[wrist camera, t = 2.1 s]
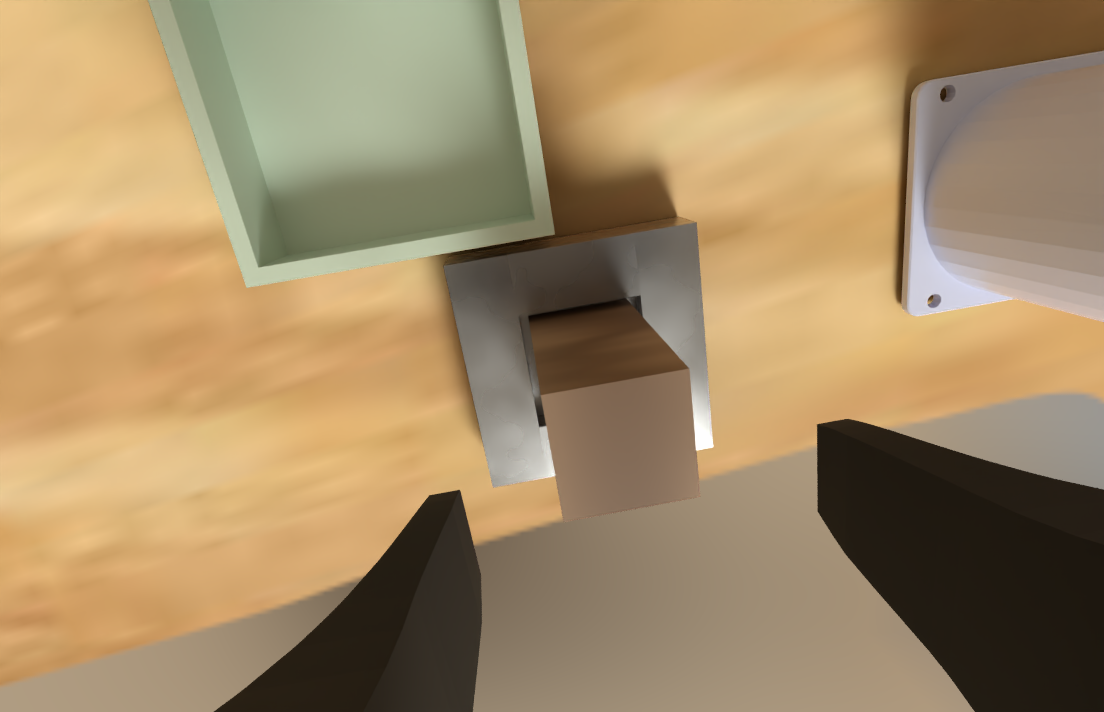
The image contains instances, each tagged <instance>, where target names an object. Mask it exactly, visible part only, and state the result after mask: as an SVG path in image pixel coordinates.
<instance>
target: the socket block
mask: <svg viewBox="0 0 1104 712" xmlns="http://www.w3.org/2000/svg"><path fill="white" fill-rule="evenodd" d="M443 267H444V271H445V276H446V280H447V285H448V289H449V294H450V298H451V302H452V307H453V311H454V316H455V320H456V325H457V329H458V334H459V338H460V343H461V347H462V352H463V356H464V360H465V365H466V369H467V374H468V378H469V383H470V387H471V392H472V396H473V401H474V405H475V410H476V414H477V418H478V423H479V427H480V432H481V436H482V441H483V445H484V450H485V454H486V459H487V463H488V468H489V472H490V476H491V481H492V485H493V487H499V486H504V485H510V484H515V483H521V482H526V481H531V480H537V479H542V478H548V477H553V476H555V471H554V466H553V460H552V455H551V449H550V444H549V438H548V433H547V427H546V422H545V416H544V410H543V405H542V399H541V394H540V387H539V381H538V375H537V369H536V362H535V356H534V350H533V343H532V337H531V331H530V325H529V318H528V316H531V315H537V314H543V313H548V312H554V311H560V310H565V309H571V308H577V307H582V306H588V305H594V304H599V303H605V302H611V301H617V300H622V299H627V300H628V301H629V302H630V303H631V305H632V306H633V307H634V308H635V309H636V310H637V311H638V312H639V313H640V315H641V316H642V317H643V318H644V319H645V320H646V321H647V322H648V323H649V324H650V326H651V327H652V328H653V329H654V330H655V331H656V332H657V333H658V334H659V336H660V337H661V338H662V339H663V340H664V341H665V342H666V343H667V344H668V345H669V347H670V348H671V349H672V350H673V351H674V352H675V353H676V354H677V355H678V357H679V358H680V359H681V360H682V361H683V362H684V363H685V364H686V365H687V366H688V368H689V370H690V382H691V393H692V405H693V417H694V429H695V441H696V450H701V449H706V448H712V447H713V439H712V425H711V412H710V398H709V385H708V371H707V358H706V344H705V331H704V317H703V303H702V290H701V276H700V263H699V249H698V236H697V222H694V221H691V220H687V219H684V218H681V217H673V218H667V219H661V220H656V221H650V222H644V223H638V224H633V225H627V226H621V227H615V228H609V229H604V230H598V231H592V232H586V233H580V234H575V235H569V236H563V237H557V238H552V239H546V240H540V241H534V242H528V243H523V244H517V245H511V246H505V247H499V248H494V249H488V250H482V251H476V252H471V253H465V254H459V255H453V256H449V257H448V259H447V261H446V263H445V264H444V266H443Z"/></svg>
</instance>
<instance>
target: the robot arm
mask: <svg viewBox="0 0 1104 712" xmlns="http://www.w3.org/2000/svg"><path fill="white" fill-rule="evenodd" d="M943 87H944V88H945V89H946V92H947V95H946V98H945V99H944V101H942V100H941V99H940V93H941V90H942V89H943ZM931 295H933V297H934V298H933V301H932V302H931V303H930V304H927V301H928V298H929V297H930V296H931ZM1012 299H1018V300H1022V301H1026V302H1030V303H1034V304H1037V305H1041V306H1045V307H1049V308H1052V309H1056V310H1060V311H1064V312H1068V313H1071V314H1075V315H1079V316H1083V317H1087V318H1090V319H1094V320H1098V321H1102V322H1104V51H1099V52H1093V53H1087V54H1081V55H1075V56H1069V57H1063V58H1057V59H1051V60H1046V61H1040V62H1034V63H1028V64H1022V65H1016V66H1010V67H1004V68H998V69H992V70H986V71H980V72H975V73H969V74H963V75H957V76H951V77H945V78H939V79H933V80H928V81H925V82H922V83H920V84H919V85H918V86H917V87H916V88H915V89H914V91H913V93H912V96H911V106H910V127H909V149H908V171H907V193H906V215H905V237H904V259H903V281H902V303H901V304H902V309H903V310H904V311H905V312H906V313H908V314H910V315H913V316H922V315H928V314H934V313H939V312H945V311H950V310H956V309H961V308H967V307H973V306H978V305H984V304H989V303H995V302H1001V301H1006V300H1012ZM817 457H818V458H817V459H818V460H817V465H818V466H817V474H818V513H819V514H820V516H821V517H822V519H823V521H824V522H825V524H826V525H827V527H828V529H829V530H830V532H831V533H832V535H833V536H834V538H835V539H836V541H837V542H838V544H839V545H840V546H841V548H842V550H843V551H844V553H845V554H846V555H847V556H848V558H849V559H850V560H851V561H852V562H853V564H854V565H855V566H856V567H857V568H858V570H859V571H860V572H861V573H862V574H863V575H864V576H865V578H866V579H867V580H868V581H869V582H870V583H871V585H872V586H873V587H874V588H875V589H876V591H877V592H878V593H879V594H880V595H881V596H882V597H883V599H884V600H885V601H886V602H887V603H888V604H889V605H890V606H891V608H892V609H893V610H894V611H895V612H896V613H897V614H898V616H899V617H900V618H901V619H902V620H903V621H904V622H905V624H906V625H907V626H908V627H909V628H910V630H911V631H912V632H913V633H914V634H915V635H916V636H917V638H918V639H919V640H920V641H921V642H922V643H923V645H924V646H925V647H926V648H927V649H928V650H929V651H930V653H931V654H932V655H933V656H934V658H935V659H936V660H937V661H938V663H939V664H940V665H941V666H942V667H943V669H944V670H945V671H946V672H947V674H948V675H949V676H950V678H951V679H952V681H953V682H954V683H955V685H956V686H957V688H958V689H959V690H960V692H961V693H962V694H963V696H964V697H965V699H966V700H967V701H968V703H969V704H970V706H971V707H972V708H973V710H974V711H975V712H1104V490H1103V489H1098V488H1093V487H1089V486H1085V485H1080V484H1075V483H1070V482H1066V481H1062V480H1057V479H1053V478H1049V477H1045V476H1041V475H1037V474H1033V473H1029V472H1026V471H1022V470H1018V469H1015V468H1011V467H1007V466H1004V465H1000V464H997V463H993V462H989V461H986V460H983V459H979V458H976V457H972V456H969V455H966V454H963V453H959V452H956V451H953V450H950V449H947V448H944V447H940V446H937V445H934V444H931V443H928V442H925V441H922V440H919V439H915V438H912V437H909V436H906V435H903V434H900V433H897V432H894V431H891V430H887V429H884V428H881V427H877V426H874V425H871V424H867V423H863V422H859V421H855V420H850V419H844V420H838V421H833V422H827V423H822V424H817ZM481 624H482V601H481V573H480V569H479V565H478V561H477V557H476V553H475V549H474V545H473V541H472V537H471V532H470V528H469V524H468V520H467V516H466V512H465V508H464V504H463V500H462V496H461V492H460V490H457V491H451V492H446V493H440V494H435V495H429V497H428V498H427V499H426V500H425V502H424V503H423V504H422V505H421V507H420V508H419V509H418V511H417V512H416V513H415V515H414V516H413V517H412V519H411V520H410V521H409V523H408V524H407V525H406V526H405V528H404V529H403V530H402V532H401V533H400V534H399V536H398V537H397V538H396V539H395V541H394V542H393V543H392V545H391V546H390V547H389V548H388V550H387V551H386V552H385V553H384V555H383V556H382V557H381V558H380V560H379V561H378V562H377V563H376V564H375V565H374V566H373V568H372V569H371V570H370V571H369V572H368V573H367V574H366V576H365V577H364V578H363V579H362V580H361V581H360V582H359V583H358V585H357V586H356V587H355V588H354V589H353V590H352V591H351V593H350V594H349V595H348V596H347V597H346V598H345V599H344V600H343V601H342V602H341V603H340V605H338V606H337V608H335V610H333V611H332V612H331V613H330V614H329V616H328V617H326V618H325V619H324V620H323V621H322V622H321V623H320V624H319V625H318V626H317V627H316V628H315V629H314V630H313V631H312V632H311V633H310V634H309V635H307V636H306V638H304V639H303V640H302V641H301V642H300V643H299V644H298V645H297V646H296V647H294V648H293V649H292V650H291V651H290V652H288V653H287V654H286V655H285V656H283V657H282V658H281V659H280V660H279V661H277V662H276V663H275V664H274V665H273V666H271V667H270V668H269V669H268V670H267V671H265V672H264V673H263V674H262V675H261V676H259V677H258V678H257V679H256V680H255V681H253V682H252V683H251V684H250V685H248V686H247V687H246V688H245V689H244V690H242V691H241V692H240V693H238V694H237V695H236V696H234V697H233V698H232V699H230V700H229V701H228V702H226V703H225V704H224V705H222V706H221V707H220V708H218V709H217V710H216V711H214V712H473V703H474V694H475V684H476V675H477V665H478V656H479V646H480V636H481Z"/></svg>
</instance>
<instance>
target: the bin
mask: <svg viewBox="0 0 1104 712" xmlns="http://www.w3.org/2000/svg"><path fill="white" fill-rule="evenodd" d="M148 2H149V5H150V8H151V11H152V14H153V17H154V20H155V23H156V25H157V28H158V31H159V34H160V37H161V40H162V43H163V46H164V49H165V52H166V55H167V57H168V60H169V63H170V66H171V69H172V72H173V75H174V78H175V81H176V84H177V86H178V89H179V92H180V95H181V98H182V101H183V104H184V107H185V110H186V113H187V116H188V118H189V121H190V124H191V127H192V130H193V133H194V136H195V139H196V142H197V145H198V148H199V150H200V153H201V156H202V159H203V162H204V165H205V168H206V171H207V174H208V177H209V180H210V182H211V185H212V188H213V191H214V194H215V197H216V200H217V203H218V206H219V209H220V212H221V214H222V217H223V220H224V223H225V226H226V229H227V232H228V235H229V238H230V241H231V243H232V246H233V249H234V252H235V255H236V258H237V261H238V264H239V267H240V270H241V273H242V275H243V278H244V281H245V284H246V287H247V288H248V287H254V286H260V285H266V284H272V283H277V282H283V281H289V280H295V279H300V278H306V277H312V276H318V275H324V274H329V273H335V272H341V271H347V270H353V269H358V268H364V267H370V266H376V265H381V264H387V263H393V262H399V261H405V260H410V259H416V258H422V257H428V256H434V255H439V254H445V253H451V252H457V251H463V250H468V249H474V248H480V247H486V246H491V245H497V244H503V243H509V242H515V241H520V240H526V239H532V238H538V237H544V236H549V235H555V231H554V225H553V218H552V212H551V205H550V199H549V193H548V186H547V180H546V173H545V167H544V161H543V154H542V148H541V141H540V135H539V128H538V122H537V116H536V109H535V103H534V96H533V90H532V83H531V77H530V71H529V64H528V58H527V51H526V45H525V39H524V32H523V26H522V19H521V13H520V6H519V0H148Z"/></svg>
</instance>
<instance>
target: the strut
mask: <svg viewBox="0 0 1104 712" xmlns="http://www.w3.org/2000/svg"><path fill="white" fill-rule="evenodd" d="M528 318H529V325H530V331H531V337H532V343H533V350H534V356H535V362H536V369H537V375H538V381H539V387H540V394H541V399H542V405H543V410H544V416H545V422H546V427H547V433H548V438H549V444H550V449H551V455H552V460H553V466H554V471H555V477H556V482H557V488H558V493H559V499H560V505H561V510H562V516H563V521H564V522H567V521H573V520H578V519H583V518H589V517H594V516H600V515H604V514H610V513H616V512H621V511H627V510H632V509H637V508H643V507H648V506H654V505H659V504H664V503H670V502H675V501H681V500H686V499H691V498H697V497H700V488H699V476H698V464H697V452H696V441H695V429H694V417H693V405H692V393H691V382H690V370H689V368H688V366H687V365H686V364H685V363H684V362H683V361H682V360H681V359H680V358H679V357H678V355H677V354H676V353H675V352H674V351H673V350H672V349H671V348H670V347H669V345H668V344H667V343H666V342H665V341H664V340H663V339H662V338H661V337H660V336H659V334H658V333H657V332H656V331H655V330H654V329H653V328H652V327H651V326H650V324H649V323H648V322H647V321H646V320H645V319H644V318H643V317H642V316H641V315H640V313H639V312H638V311H637V310H636V309H635V308H634V307H633V306H632V305H631V303H630V302H629V301H628V300H627V299H622V300H617V301H611V302H605V303H599V304H594V305H588V306H582V307H577V308H571V309H565V310H560V311H554V312H548V313H543V314H537V315H531V316H528Z"/></svg>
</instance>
